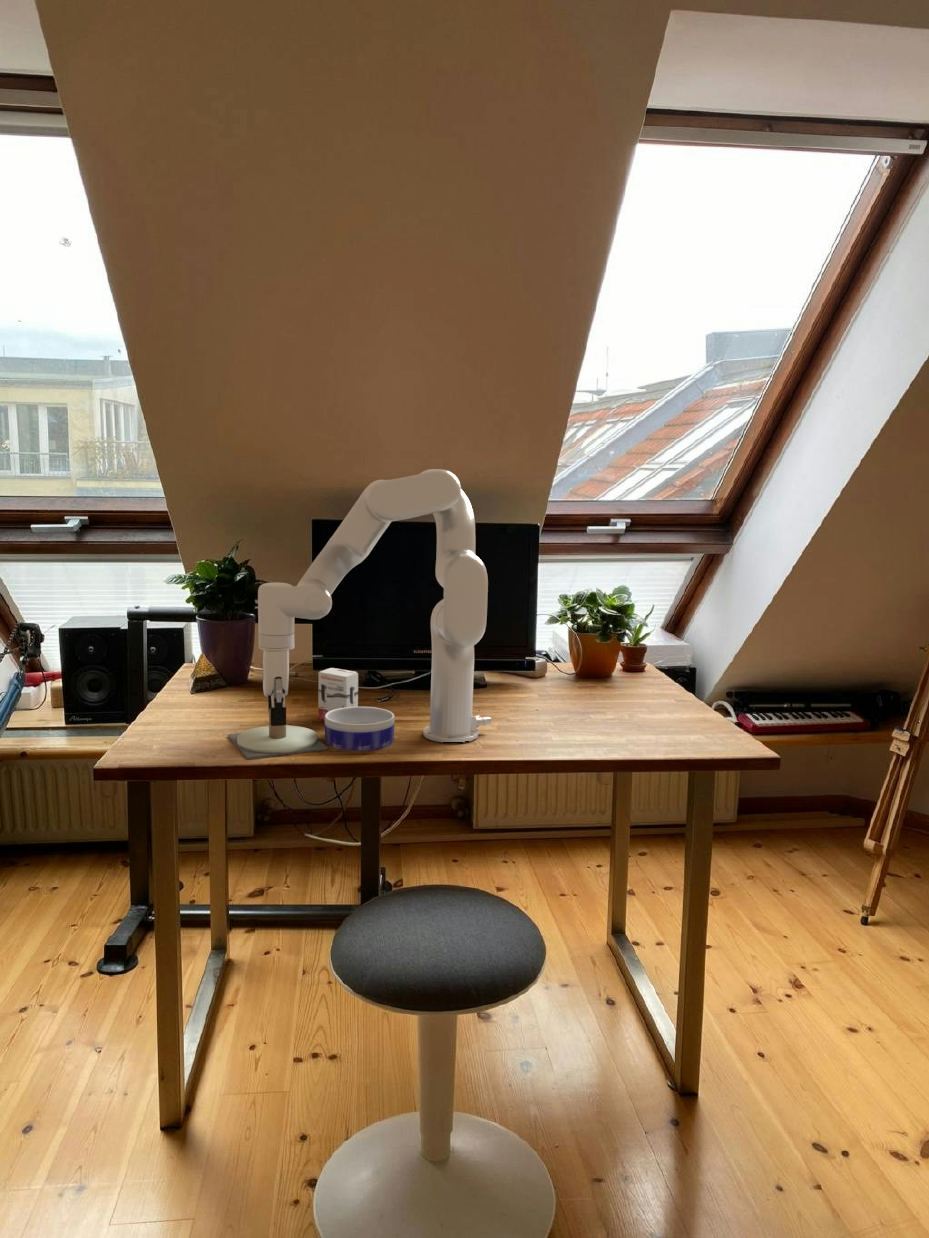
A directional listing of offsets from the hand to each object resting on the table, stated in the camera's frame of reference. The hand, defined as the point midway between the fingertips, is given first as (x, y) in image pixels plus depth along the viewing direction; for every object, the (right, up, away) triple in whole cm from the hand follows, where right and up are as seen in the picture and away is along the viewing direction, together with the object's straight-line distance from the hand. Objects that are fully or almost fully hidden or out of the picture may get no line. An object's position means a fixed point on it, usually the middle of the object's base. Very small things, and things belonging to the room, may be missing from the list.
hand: (277, 718), depth 186 cm
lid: (0, -5, +1) cm, 5 cm away
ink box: (+10, -3, +20) cm, 23 cm away
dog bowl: (+17, -6, +5) cm, 19 cm away
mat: (0, -5, +1) cm, 5 cm away
